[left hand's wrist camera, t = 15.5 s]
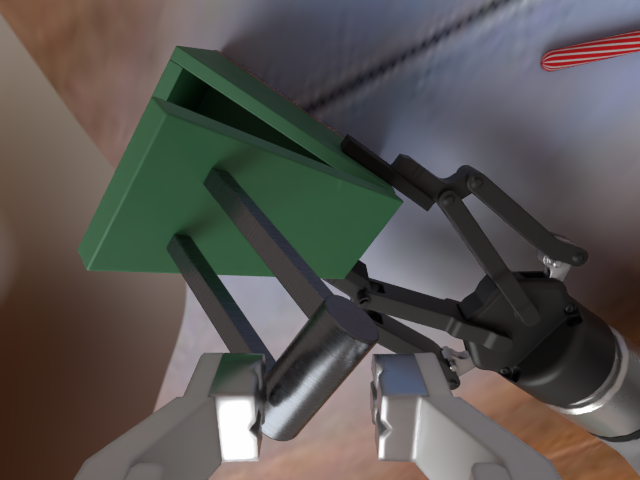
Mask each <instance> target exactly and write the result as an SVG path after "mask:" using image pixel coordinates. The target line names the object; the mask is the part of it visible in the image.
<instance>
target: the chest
mask: <svg viewBox="0 0 640 480" xmlns="http://www.w3.org/2000/svg"><path fill="white" fill-rule="evenodd" d="M152 96H155V97H158V98H160V99H163V100H165V101H168V102H170V103H173V104H175V105H178V106H180V107H183V108H185V109H188V110H190V111H193V112H195V113H198V114H200V115H203V116H205V117H208V118H210V119H213V120H215V121H218V122H220V123H223V124H225V125H228V126H230V127H233V128H235V129H238V130H240V131H243V132H245V133H248V134H250V135H253V136H255V137H258V138H260V139H263V140H265V141H268V142H270V143H273V144H275V145H278V146H280V147H283V148H285V149H288V150H290V151H292V152H295V153H297V154H300V155H302V156H305V157H307V158H310V159H312V160H315V161H317V162H320V163H322V164H325V165H327V166H330V167H332V168H335V169H337V170H340V171H342V172H345V173H347V174H350V175H352V176H355V177H357V178H360V179H362V180H365V181H367V182H370V183H372V184H375V185H377V186H380V187H382V188H385V189H387V190H390V191H392V192H393V193H394V194H395V191H394V189H393V188H392V186H391V185H390V184H389V183H387V182H386V181H384V180H383V179H382V178H380V177H379V176H377V175H376V174H375V173H373V172H372V171H370V170H369V169H368V168H366V167H365V166H363V165H362V164H361V163H359V162H358V161H356V160H355V159H354V158H352V157H351V156H349V155H348V154H347V153H345V152H344V151H343V150H342V148H341V142H342V141H343V139H344V138H345V137H343V136H342V135H340V134H339V133H337V132H336V131H335V130H333V129H332V128H330V127H329V126H327V125H326V124H324V123H323V122H321V121H320V120H318V119H317V118H316V117H314V116H313V115H311V114H310V113H308V112H307V111H305V110H304V109H302V108H301V107H300V106H298V105H297V104H295V103H294V102H292V101H291V100H289V99H288V98H286V97H285V96H283V95H282V94H281V93H279V92H278V91H276V90H275V89H273V88H272V87H270V86H269V85H267V84H266V83H265V82H263V81H262V80H260V79H259V78H257V77H256V76H254V75H253V74H251V73H250V72H249V71H247V70H246V69H244V68H243V67H241V66H240V65H238V64H237V63H235V62H234V61H232V60H231V59H230V58H228V57H227V56H225V55H224V54H222V53H221V52H219V51H217V50H214V51H213V50H205V49H198V48H190V47H182V46H176V48H175V50H174V52H173V54H172V56H171V59H170V60H169V62H168V64H167V66H166V68H165V70H164V72H163V74H162V76H161V78H160V81H159V83H158V85H157V87H156V89H155V91H154V93H153V95H152Z"/></svg>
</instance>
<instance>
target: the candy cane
mask: <svg viewBox="0 0 640 480" xmlns="http://www.w3.org/2000/svg"><path fill="white" fill-rule="evenodd" d="M639 51H640V30H636V31H632V32H628V33H623V34H619V35H615V36H610V37H606V38H602V39H597V40H593V41H589V42H585V43H580V44H576V45H572V46H568V47H563V48H559V49H555V50H551V51H548V52H546V53H545V54H544V55H543V56H542V58H541V61H540V65H541V67H542V69H543V70H545V71H555V70H560V69H564V68H568V67H573V66H577V65H581V64H586V63H590V62H595V61H599V60H603V59H608V58H612V57H617V56H621V55H625V54H630V53H634V52H639Z"/></svg>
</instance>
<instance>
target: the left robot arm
mask: <svg viewBox="0 0 640 480" xmlns="http://www.w3.org/2000/svg"><path fill="white" fill-rule="evenodd" d="M371 369H372V375H373V381H372V382H371V388H370V406H371V415H372V423H373V424H374V425H375V442H376V448H377V454H378V460H379V461H401V462H416V465H417V466H418V467H419V468H420V469H421V470H422V472H423V473H424V474H425V475H426V476H427V477H428V479H429V480H562V478H561V477H560V475H559V474H558V472H557V470H556V469H555V467H554V465H553V464H552V462H551V461H550V460H548V459H547V458H546V457H544V456H543V455H541V454H540V453H539V452H537V451H536V450H534V449H533V448H531V447H530V446H529V445H527V444H526V443H524V442H523V441H521V440H520V439H519V438H517V437H516V436H514V435H513V434H512V433H510V432H509V431H507V430H506V429H504V428H503V427H502V426H500V425H499V424H497V423H496V422H494V421H493V420H492V419H490V418H489V417H487V416H486V415H485V414H483V413H482V412H480V411H479V410H477V409H476V408H475V407H473V406H472V405H470V404H469V403H467V402H466V401H465V400H463V399H462V398H460V397H453V394H452V392H451V390H450V387H449V385H448V383H447V380H446V378H445V376H444V373H443V371H442V369H441V366H440V364H439V362H438V359H437V357H436V355H435V354H434V353H413V354H373V356H372V367H371ZM265 370H266V363H265V355H264V354H254V353H204V354H202V355H201V357H200V359H199V361H198V364H197V366H196V368H195V371H194V373H193V375H192V378H191V380H190V382H189V384H188V387H187V389H186V391H185V394H184V396H183V397H176V398H175V399H173V400H172V401H171V402H169V403H168V404H166V405H165V406H163V407H162V408H161V409H159V410H158V411H156V412H155V413H153V414H152V415H150V416H149V417H148V418H146V419H145V420H143V421H142V422H140V423H139V424H137V425H136V426H135V427H133V428H132V429H130V430H129V431H128V432H126V433H125V434H123V435H122V436H120V437H119V438H117V439H116V440H114V441H113V442H112V443H110V444H109V445H107V446H106V447H104V448H103V449H102V450H100V451H99V452H97V453H96V454H94V455H93V456H91V457H90V458H89V459H87V460H86V461H85V462H84V464H83V465H82V467H81V469H80V470H79V472H78V473H77V475H76V477H75V478H74V480H208V479H209V478H210V476H211V475H212V474H213V473H214V472H215V471H216V469H217V468H218V467H219V466H220V465H221V462H236V461H258V460H259V454H260V448H261V442H262V425H263V424H264V423H265V417H266V408H267V383H266V382H265V381H264V376H265Z"/></svg>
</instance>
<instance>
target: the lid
mask: <svg viewBox="0 0 640 480" xmlns="http://www.w3.org/2000/svg"><path fill="white" fill-rule="evenodd" d="M402 203H403V201H402V200H401V199H400V198H399V197H398V196H397V195H396V194H394V193H393V192H392V191H390V190H387V189H385V188H382V187H380V186H377V185H375V184H372V183H370V182H367V181H365V180H362V179H360V178H357V177H355V176H352V175H350V174H347V173H345V172H342V171H340V170H337V169H335V168H332V167H330V166H327V165H325V164H322V163H320V162H317V161H315V160H312V159H310V158H307V157H305V156H302V155H300V154H297V153H295V152H292V151H290V150H288V149H285V148H283V147H280V146H278V145H275V144H273V143H270V142H268V141H265V140H263V139H260V138H258V137H255V136H253V135H250V134H248V133H245V132H243V131H240V130H238V129H235V128H233V127H230V126H228V125H225V124H223V123H220V122H218V121H215V120H213V119H210V118H208V117H205V116H203V115H200V114H198V113H195V112H193V111H190V110H188V109H185V108H183V107H180V106H178V105H175V104H173V103H170V102H168V101H165V100H163V99H160V98H158V97H155V96H152V97H151V99H150V101H149V103H148V105H147V107H146V109H145V111H144V114H143V116H142V118H141V120H140V122H139V124H138V126H137V128H136V130H135V132H134V134H133V136H132V138H131V140H130V142H129V144H128V147H127V149H126V151H125V153H124V155H123V157H122V159H121V161H120V163H119V165H118V167H117V169H116V171H115V173H114V175H113V178H112V180H111V182H110V184H109V186H108V188H107V190H106V192H105V194H104V196H103V198H102V200H101V202H100V204H99V206H98V208H97V211H96V213H95V215H94V217H93V219H92V221H91V223H90V225H89V227H88V229H87V231H86V233H85V235H84V237H83V239H82V241H81V244H80V246H79V248H78V252H79V254H80V256H81V258H82V261H83V263H84V265H85V267H86V269H87V270H92V271H121V272H151V273H181V274H182V275H183V277H184V279H185V280H186V282H187V283H188V285H189V287H190V288H191V290H192V291H193V293H194V295H195V296H196V298H197V300H198V301H199V303H200V304H201V306H202V308H203V309H204V311H205V312H206V314H207V316H208V317H209V319H210V320H211V322H212V324H213V325H214V327H215V328H216V330H217V332H218V333H219V335H220V337H221V338H222V340H223V341H224V343H225V345H226V346H227V348H228V349H229V351H230V353H254V354H264V355H265V363H266V370H265V376H264V381H265V382H266V383H267V408H266V417H265V423H264V424H263V425H262V433H263V434H265V435H266V436H268V437H270V438H272V439H274V440H277V441H288V440H291V439H293V438H295V437H296V436H297V435H298V434H299V432H300V431H301V430H302V429H303V428H304V427H305V425H306V424H307V423H308V422H309V421H310V420H311V419H312V417H313V416H314V415H315V414H316V413H317V412H318V410H319V409H320V408H321V407H322V406H323V405H324V403H325V402H326V401H327V400H328V399H329V398H330V397H331V395H332V394H333V393H334V392H335V391H336V390H337V388H338V387H339V386H340V385H341V384H342V383H343V381H344V380H345V379H346V378H347V377H348V376H349V375H350V373H351V372H352V371H353V370H354V369H355V368H356V366H357V365H358V364H359V363H360V362H361V361H362V359H363V358H364V357H365V356H366V355H367V354H368V353H369V351H370V350H371V349H372V348H373V347H374V346H375V344H376V343H377V342H378V340H379V331H378V328H377V326H376V325H375V323H374V321H373V320H372V319H371V318H370V316H369V315H368V314H367V313H366V312H365V311H364V310H363V309H361V308H360V307H359V306H358V305H356V304H355V303H353V302H352V301H350V300H348V299H346V298H344V297H342V296H338V295H334V294H333V293H332V292H331V291H330V290H329V288H328V287H327V286H326V285H325V284H324V283H323V281H322V280H321V279H320V278H327V279H344V278H345V277H346V276H347V274H348V273H349V272H350V270H351V269H352V268H353V266H354V265H355V264H356V263H357V261H358V260H359V259H360V257H361V256H362V255H363V254H364V252H365V251H366V250H367V248H368V247H369V246H370V244H371V243H372V242H373V241H374V239H375V238H376V237H377V235H378V234H379V233H380V232H381V230H382V229H383V228H384V226H385V225H386V224H387V222H388V221H389V220H390V219H391V217H392V216H393V215H394V213H395V212H396V211H397V210H398V208H399V207H400V206H401V204H402ZM217 275H238V276H268V277H276V278H277V279H278V280H279V282H280V283H281V284H282V285H283V287H284V288H285V289H286V291H287V292H288V293H289V294H290V296H291V297H292V298H293V299H294V301H295V302H296V303H297V305H298V306H299V307H300V308H301V310H302V311H303V312H304V313H305V315H306V316H307V317H308V319H309V320H308V321H307V322H306V324H305V325H304V326H303V328H302V329H301V330H300V332H299V333H298V334H297V336H296V337H295V338H294V339H293V341H292V342H291V343H290V345H289V346H288V347H287V349H286V350H285V351H284V352H283V354H282V355H281V356H280V358H279V359H278V360H277V362H276V361H275V359H274V358H273V357H272V355H271V354H270V352H269V351H268V349H267V348H266V346H265V345H264V343H263V342H262V340H261V339H260V337H259V336H258V335H257V333H256V332H255V330H254V329H253V327H252V326H251V324H250V323H249V321H248V320H247V318H246V317H245V316H244V314H243V313H242V311H241V310H240V308H239V307H238V305H237V304H236V302H235V301H234V299H233V298H232V296H231V295H230V294H229V292H228V291H227V289H226V288H225V286H224V285H223V283H222V282H221V280H220V279H219V277H218V276H217Z"/></svg>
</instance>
